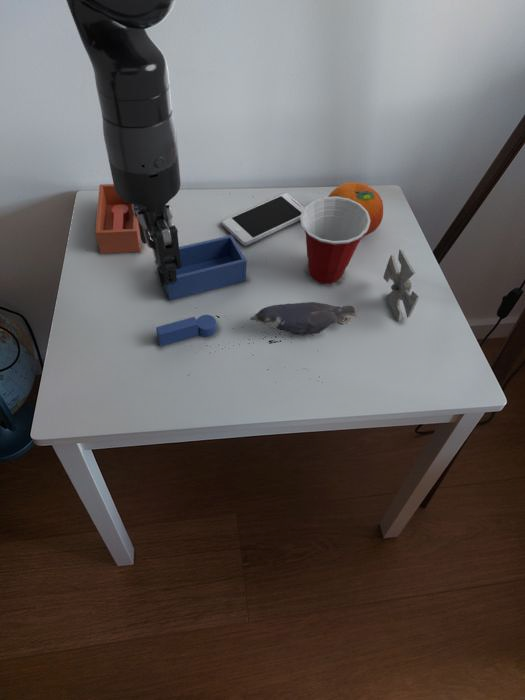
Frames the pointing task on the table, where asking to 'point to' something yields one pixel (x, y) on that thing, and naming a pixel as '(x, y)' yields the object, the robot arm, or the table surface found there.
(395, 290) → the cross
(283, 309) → the bird model
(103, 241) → the orange bin
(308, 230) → the plastic cup
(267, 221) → the smartphone
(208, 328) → the blue spoon
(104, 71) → the robot arm
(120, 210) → the red spoon
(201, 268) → the blue bin
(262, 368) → the table surface
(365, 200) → the fruit
